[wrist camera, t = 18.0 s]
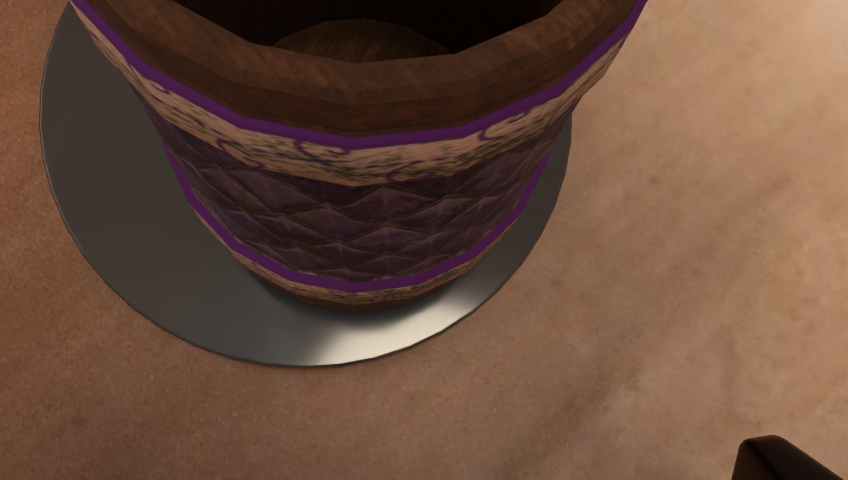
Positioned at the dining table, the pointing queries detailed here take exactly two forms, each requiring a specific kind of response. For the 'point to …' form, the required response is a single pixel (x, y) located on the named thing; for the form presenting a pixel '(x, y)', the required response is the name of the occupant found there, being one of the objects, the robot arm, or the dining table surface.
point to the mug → (359, 125)
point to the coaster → (202, 252)
